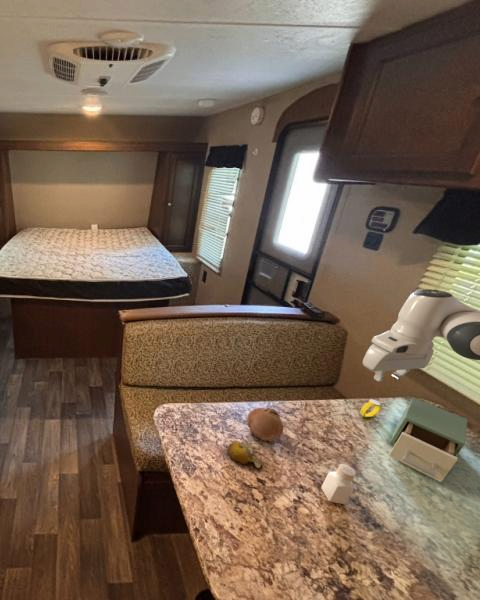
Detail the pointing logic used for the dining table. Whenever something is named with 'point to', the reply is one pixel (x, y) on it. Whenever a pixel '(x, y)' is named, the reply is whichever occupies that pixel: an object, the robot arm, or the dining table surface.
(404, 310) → the robot arm
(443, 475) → the drawer
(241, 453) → the fruit
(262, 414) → the onion
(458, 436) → the cabinet
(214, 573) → the dining table surface
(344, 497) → the salt shaker
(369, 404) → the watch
